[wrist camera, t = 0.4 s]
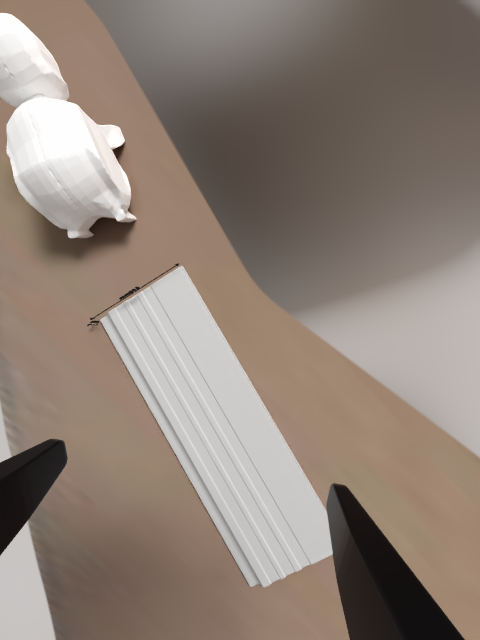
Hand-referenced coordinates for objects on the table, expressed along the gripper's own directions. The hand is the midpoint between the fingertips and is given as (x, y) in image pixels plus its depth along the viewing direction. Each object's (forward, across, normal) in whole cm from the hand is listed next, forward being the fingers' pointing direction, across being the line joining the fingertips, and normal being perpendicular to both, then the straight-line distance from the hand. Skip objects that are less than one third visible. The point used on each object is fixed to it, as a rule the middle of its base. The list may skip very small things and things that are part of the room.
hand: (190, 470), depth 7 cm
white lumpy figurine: (+20, +17, -14) cm, 30 cm away
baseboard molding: (+14, +2, +10) cm, 18 cm away
